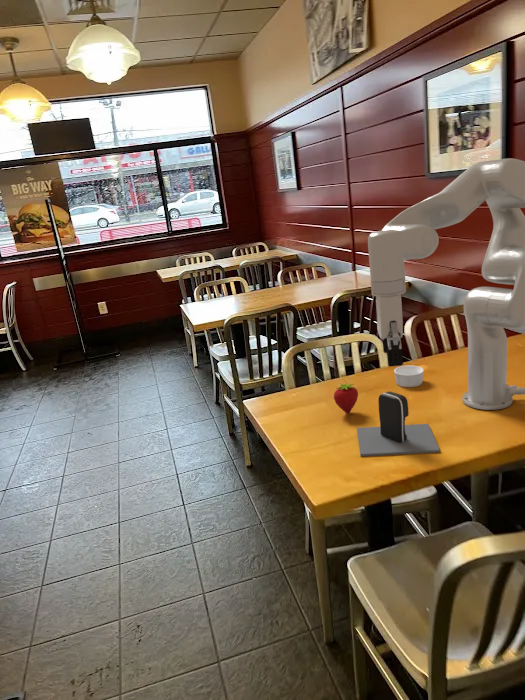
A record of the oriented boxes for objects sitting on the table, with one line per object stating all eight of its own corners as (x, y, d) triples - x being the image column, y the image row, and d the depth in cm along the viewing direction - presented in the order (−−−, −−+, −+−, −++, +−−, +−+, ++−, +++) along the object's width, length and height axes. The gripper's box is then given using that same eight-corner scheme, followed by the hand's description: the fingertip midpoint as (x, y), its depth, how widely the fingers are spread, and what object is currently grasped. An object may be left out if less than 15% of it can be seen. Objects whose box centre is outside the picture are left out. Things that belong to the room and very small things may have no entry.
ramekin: (427, 379, 163) (427, 366, 162) (419, 389, 156) (418, 376, 155) (399, 376, 168) (399, 364, 167) (390, 386, 161) (389, 373, 160)
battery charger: (412, 438, 126) (410, 395, 122) (401, 444, 124) (399, 399, 120) (390, 430, 131) (387, 388, 128) (379, 435, 129) (376, 392, 126)
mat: (428, 425, 132) (428, 423, 132) (440, 452, 119) (439, 450, 119) (356, 430, 135) (356, 427, 135) (360, 456, 122) (360, 454, 122)
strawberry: (330, 415, 146) (327, 381, 143) (348, 406, 150) (346, 373, 147) (345, 420, 141) (343, 386, 138) (364, 411, 146) (362, 377, 143)
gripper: (368, 281, 125) (373, 348, 130) (374, 296, 109) (380, 372, 114) (400, 278, 124) (403, 346, 129) (411, 292, 108) (415, 369, 113)
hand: (392, 358), depth 121 cm, fingers open, 9 cm apart
